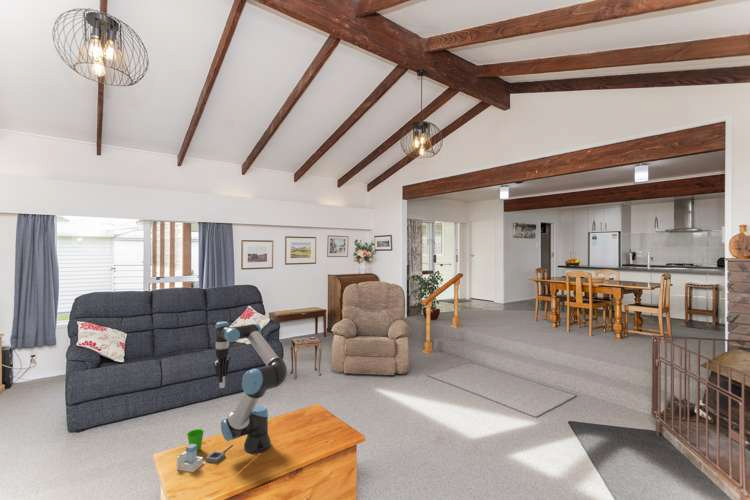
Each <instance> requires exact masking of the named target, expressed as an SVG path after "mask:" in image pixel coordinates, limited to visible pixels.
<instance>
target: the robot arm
mask: <svg viewBox="0 0 750 500" xmlns="http://www.w3.org/2000/svg"><path fill="white" fill-rule="evenodd" d="M214 329H215V330H214V331H215V356H216V360H215V361H214V362H213V366H214V370H215V376H216V377H217V378H218V382H219V384H218V385H219V386H218V387H219V389H224V388H226V377H227V376H228V373H229V368H230V361H231V356H229V354H230V348H229V347H230V343H231V342H232V343H233V342H237V341H238V340H242V339H243V340H244V339H247V340H248V341H249V343H250V345H251V346H252V348H254V351H256V352H257V353H256V354H258V355H259V357H260V358H261V360H262V362H263V363H264V364H265V366H262V367H258V368H251V369H250V370H247V371H246V372H245V373H244V374H243V376H242V378H241V381H242V382H241V387H242V391H243V394H242V395H241V397H240V399H239V401H238V404H237V406H236V408H235V410H233V411H232V412H230V414H229V415H228V417H227V418H224V419H222V420H221V422H220V429H221V434H222V436H223V439H224V440H225V441H227V442H230V441H234V440H235V439H236V440H237V439H239V438H241V437H243V436H246V437H245V441H244V444H243V450H244V451H245V453H249V454H258V453H259V454H261V453H265V452H267V451H268V450H270V448H271V446H272V444H271V443H272V442H271V441H272V440H271V439H270V436H269V431H268V429H269V425H268V424H269V413H268V408H267V407H264V406H260V405H257V403H258V401H259V399H261V398H262V397H264V396H265V394H266V392H267V391H268V390H269V389H274V388H277V387H279V386H281V385H282V384H283V383H284V382H285V380H286V378H287V375H288V374H287V373H288V367H287V364H286V363H285V361H284V359H283V358H282V357H279V356H278V355H277V354H276V352H275V351H274V349H273V348H272V347H271V346H270V344H269V343H268V342H267V340H266V339H265V337H264V336H263V334H262V328H261V325H260V324H258V323H251V324H246V325H238V326H232V327H230V323H229V321H217V322H216V323H215V328H214Z"/></svg>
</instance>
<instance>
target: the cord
mask: <svg viewBox="0 0 750 500" xmlns="http://www.w3.org/2000/svg"><path fill="white" fill-rule="evenodd" d="M233 446H234V444H231V445H230V446H229V447H227V448H226V449H225V450H224V451H222V452H223V453H225V454H226V452H227V451H228V450H229V449H231V448H232V447H233Z"/></svg>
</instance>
